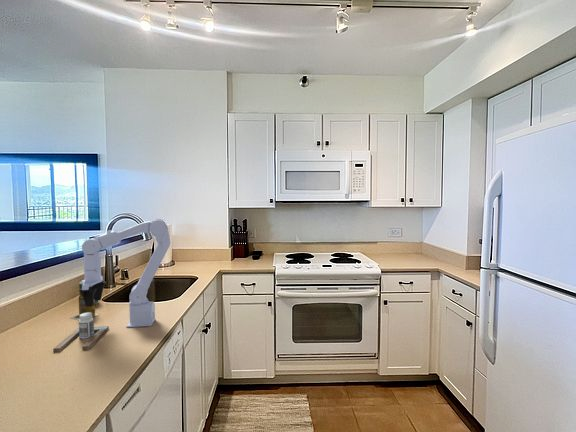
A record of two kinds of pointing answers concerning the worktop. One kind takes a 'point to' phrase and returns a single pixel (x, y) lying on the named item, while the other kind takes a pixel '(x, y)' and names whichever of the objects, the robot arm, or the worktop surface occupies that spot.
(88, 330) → the pill bottle
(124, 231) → the robot arm
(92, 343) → the guide channel
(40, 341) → the worktop surface
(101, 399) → the worktop surface
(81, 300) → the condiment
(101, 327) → the panel
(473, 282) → the worktop surface
